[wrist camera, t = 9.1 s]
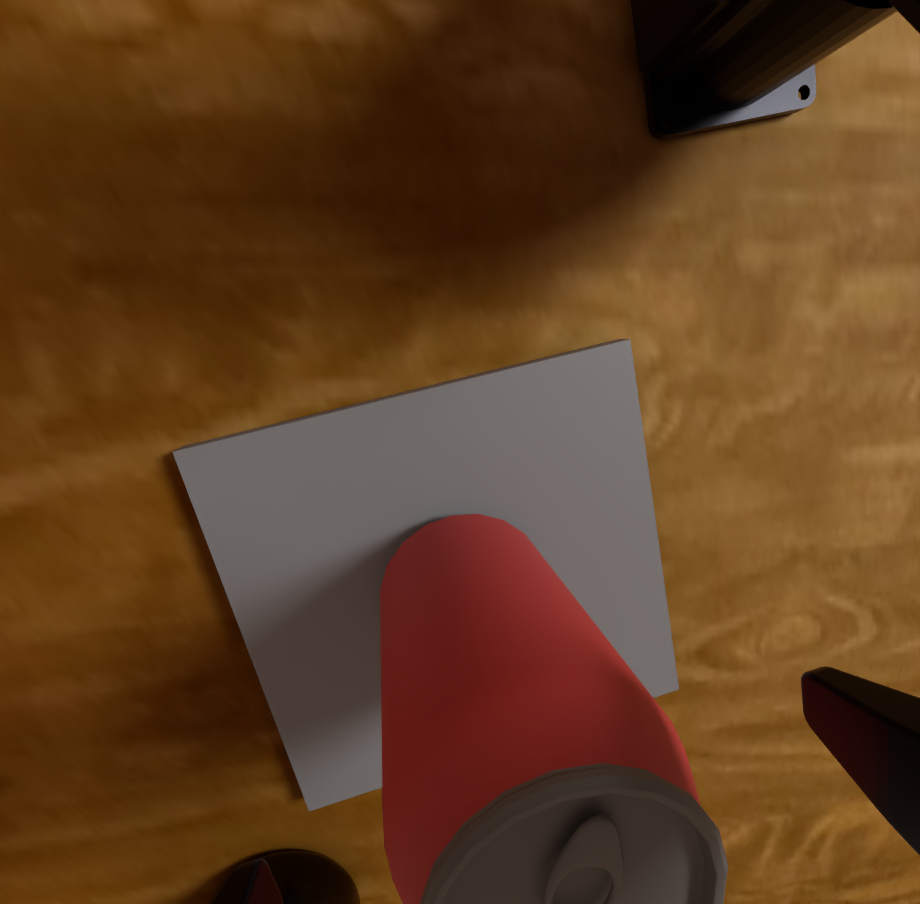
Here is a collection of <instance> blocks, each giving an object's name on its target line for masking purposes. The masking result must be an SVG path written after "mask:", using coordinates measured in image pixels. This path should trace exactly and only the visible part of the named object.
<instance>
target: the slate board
mask: <svg viewBox="0 0 920 904" xmlns="http://www.w3.org/2000/svg"><path fill="white" fill-rule="evenodd" d="M173 455H174V458H175V460H176V463H177V465H178V468H179V471H180V473H181V476H182V479H183V481H184V484H185V486H186V489H187V492H188V494H189V497H190V500H191V502H192V505H193V507H194V510H195V513H196V515H197V518H198V521H199V523H200V526H201V529H202V531H203V534H204V536H205V539H206V542H207V544H208V547H209V550H210V552H211V555H212V557H213V560H214V563H215V565H216V568H217V571H218V573H219V576H220V578H221V581H222V584H223V586H224V589H225V592H226V594H227V597H228V599H229V602H230V605H231V607H232V610H233V613H234V615H235V618H236V620H237V623H238V626H239V628H240V631H241V634H242V636H243V639H244V641H245V644H246V647H247V649H248V652H249V655H250V657H251V660H252V663H253V665H254V668H255V670H256V673H257V676H258V678H259V681H260V684H261V686H262V689H263V691H264V694H265V697H266V699H267V702H268V705H269V707H270V710H271V712H272V715H273V718H274V720H275V723H276V726H277V728H278V731H279V733H280V736H281V739H282V741H283V744H284V747H285V749H286V752H287V754H288V757H289V760H290V762H291V765H292V768H293V770H294V773H295V775H296V778H297V781H298V783H299V786H300V789H301V791H302V794H303V797H304V799H305V802H306V804H307V807H308V810H309V811H312V810H315V809H318V808H321V807H324V806H327V805H330V804H333V803H336V802H339V801H342V800H345V799H348V798H351V797H354V796H357V795H360V794H363V793H366V792H369V791H372V790H375V789H378V788H381V787H382V724H381V628H380V588H381V585H382V581H383V578H384V575H385V571H386V568H387V565H388V563H389V562H390V560H391V559H392V557H393V556H394V555H395V553H396V552H397V550H398V549H399V547H400V546H401V545H402V543H403V542H404V541H405V540H407V539H408V538H409V537H411V536H412V535H413V534H415V533H416V532H417V531H418V530H420V529H421V528H422V527H424V526H425V525H427V524H430V523H433V522H435V521H438V520H440V519H443V518H446V517H448V516H451V515H465V514H482V515H486V516H490V517H494V518H498V519H502V520H505V521H506V522H508V523H509V524H511V525H512V526H514V527H515V528H517V529H519V530H520V531H522V532H523V533H525V534H526V536H527V537H528V538H529V540H530V541H531V542H532V543H533V545H534V546H535V547H536V549H537V550H538V551H539V552H540V554H541V555H542V556H543V558H544V559H545V560H546V561H547V563H548V564H549V565H550V566H551V568H552V569H553V570H554V572H555V573H556V574H557V575H558V577H559V578H560V579H561V581H562V582H563V583H564V584H565V586H566V587H567V588H568V590H569V591H570V592H571V593H572V595H573V596H574V597H575V598H576V600H577V601H578V602H579V604H580V605H581V606H582V607H583V609H584V610H585V611H586V613H587V614H588V615H589V616H590V618H591V619H592V620H593V621H594V623H595V624H596V625H597V627H598V628H599V629H600V630H601V632H602V633H603V634H604V636H605V637H606V638H607V639H608V641H609V642H610V643H611V645H612V646H613V647H614V648H615V650H616V651H617V652H618V653H619V655H620V656H621V657H622V659H623V660H624V661H625V662H626V664H627V665H628V666H629V668H630V669H631V670H632V671H633V673H634V674H635V675H636V677H637V678H638V679H639V680H640V682H641V683H642V684H643V685H644V687H645V688H646V689H647V691H648V692H649V693H650V694H651V696H652V697H653V698H654V697H657V696H660V695H663V694H666V693H669V692H672V691H675V690H678V689H679V685H678V678H677V671H676V664H675V657H674V649H673V642H672V635H671V628H670V621H669V614H668V606H667V599H666V592H665V585H664V578H663V571H662V563H661V556H660V549H659V542H658V535H657V528H656V520H655V513H654V506H653V499H652V492H651V484H650V477H649V470H648V463H647V456H646V449H645V441H644V434H643V427H642V420H641V413H640V406H639V398H638V391H637V384H636V377H635V370H634V363H633V355H632V348H631V341H630V339H618V340H614V341H609V342H605V343H601V344H597V345H593V346H589V347H585V348H581V349H577V350H573V351H569V352H565V353H561V354H557V355H552V356H548V357H544V358H540V359H536V360H532V361H528V362H524V363H520V364H516V365H512V366H508V367H504V368H500V369H495V370H491V371H487V372H483V373H479V374H475V375H471V376H467V377H463V378H459V379H455V380H451V381H447V382H443V383H438V384H434V385H430V386H426V387H422V388H418V389H414V390H410V391H406V392H402V393H398V394H394V395H390V396H386V397H381V398H377V399H373V400H369V401H365V402H361V403H357V404H353V405H349V406H345V407H341V408H337V409H333V410H329V411H324V412H320V413H316V414H312V415H308V416H304V417H300V418H296V419H292V420H288V421H284V422H280V423H276V424H272V425H267V426H263V427H259V428H255V429H251V430H247V431H243V432H239V433H235V434H231V435H227V436H223V437H219V438H215V439H210V440H206V441H202V442H198V443H194V444H190V445H186V446H183V447H181V448H179V449H177V450H175V451H173Z"/></svg>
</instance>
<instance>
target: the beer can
mask: <svg viewBox="0 0 920 904" xmlns="http://www.w3.org/2000/svg"><path fill="white" fill-rule="evenodd" d="M380 628H381V724H382V808H383V826H384V845H385V850H386V854H387V858H388V863H389V867H390V871H391V875H392V879H393V882H394V884H395V886H396V889H397V891H398V893H399V896H400V898H401V900H402V902H403V904H723V901H724V893H725V885H726V878H727V870H728V864H727V860H726V856H725V852H724V848H723V844H722V840H721V836H720V832H719V829H718V828H717V826H716V825H715V824H714V822H713V821H712V820H711V819H710V817H709V816H708V815H707V814H706V812H705V811H704V810H703V809H702V807H701V806H700V802H699V798H698V794H697V791H696V787H695V783H694V780H693V776H692V772H691V769H690V765H689V762H688V758H687V755H686V752H685V749H684V747H683V745H682V743H681V741H680V739H679V736H678V734H677V732H676V730H675V728H674V726H673V723H672V722H671V720H670V719H669V718H668V717H667V715H666V714H665V713H664V711H663V710H662V709H661V707H660V706H659V705H658V704H657V702H656V701H655V700H654V698H653V697H652V696H651V694H650V693H649V692H648V691H647V689H646V688H645V687H644V685H643V684H642V683H641V682H640V680H639V679H638V678H637V677H636V675H635V674H634V673H633V671H632V670H631V669H630V668H629V666H628V665H627V664H626V662H625V661H624V660H623V659H622V657H621V656H620V655H619V653H618V652H617V651H616V650H615V648H614V647H613V646H612V645H611V643H610V642H609V641H608V639H607V638H606V637H605V636H604V634H603V633H602V632H601V630H600V629H599V628H598V627H597V625H596V624H595V623H594V621H593V620H592V619H591V618H590V616H589V615H588V614H587V613H586V611H585V610H584V609H583V607H582V606H581V605H580V604H579V602H578V601H577V600H576V598H575V597H574V596H573V595H572V593H571V592H570V591H569V590H568V588H567V587H566V586H565V584H564V583H563V582H562V581H561V579H560V578H559V577H558V575H557V574H556V573H555V572H554V570H553V569H552V568H551V566H550V565H549V564H548V563H547V561H546V560H545V559H544V558H543V556H542V555H541V554H540V552H539V551H538V550H537V549H536V547H535V546H534V545H533V543H532V542H531V541H530V540H529V538H528V537H527V536H526V534H525V533H523V532H522V531H520V530H519V529H517V528H515V527H514V526H512V525H511V524H509V523H508V522H506V521H505V520H502V519H498V518H494V517H490V516H486V515H482V514H465V515H451V516H448V517H446V518H443V519H440V520H438V521H435V522H433V523H430V524H427V525H425V526H424V527H422V528H421V529H420V530H418V531H417V532H416V533H415V534H413V535H412V536H411V537H409V538H408V539H407V540H405V541H404V542H403V543H402V545H401V546H400V547H399V549H398V550H397V552H396V553H395V555H394V556H393V557H392V559H391V560H390V562H389V563H388V565H387V568H386V571H385V575H384V578H383V581H382V585H381V588H380Z"/></svg>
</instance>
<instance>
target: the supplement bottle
mask: <svg viewBox="0 0 920 904" xmlns="http://www.w3.org/2000/svg"><path fill="white" fill-rule="evenodd" d="M259 858H262V859H264V860H265V861H266V862H267V864H268V866H269V868H270V871H271V873H272V875H273V877H274V880H275V882H276V884H277V886H278V889H279V891H280V893H281V896H282V900H283V904H360V898H359V894H358V890H357V887H356V885H355V883H354V881H353V879H352V878H351V876H350V875H349V874H348V872H347V871H346V870H345V869H344V868H343V867H342V866H340V865H339V864H338V863H336V862H335V861H333V860H332V859H330V858H328V857H325V856H323V855H320V854H317V853H313V852H308V851H296V850H294V851H281V852H275V853H271V854H267V855H264V856H261V857H259ZM256 859H258V858H256ZM254 860H255V859H254ZM224 882H225V881H224ZM224 882H223V883H224ZM223 883H222V884H221V885H220V886H219V888H218V889H217V890H216V892H215V893H214V895H213V897H212V898H211V900H210V902H209V904H210V903H211V901H212V900H213V898H214V897H215V895H216V894H217V892H218V891H219V889H220V888H221V886H222V885H223Z"/></svg>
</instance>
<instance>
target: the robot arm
mask: <svg viewBox="0 0 920 904" xmlns="http://www.w3.org/2000/svg"><path fill="white" fill-rule="evenodd" d="M631 5H632V13H633V22H634V30H635V38H636V47H637V55H638V64H639V70H640V72H641V74H642V75H643V81H644V90H645V98H646V107H647V115H648V124H649V129H650V132H651V134H652V135H653V136H654V137H655V138H657V139H667V138H672V137H677V136H682V135H687V134H692V133H697V132H702V131H707V130H712V129H717V128H721V127H726V126H731V125H736V124H741V123H746V122H751V121H756V120H761V119H766V118H771V117H776V116H781V115H786V114H791V113H796V112H798V111H800V110H802V109H804V108H806V107H808V106H809V105H810V104H811V103H812V102H813V100H814V98H815V95H816V78H815V64H816V63H817V62H819V61H821V60H822V59H824V58H825V57H827V56H828V55H830V54H831V53H833V52H835V51H836V50H838V49H839V48H841V47H842V46H844V45H845V44H847V43H849V42H850V41H852V40H853V39H855V38H856V37H858V36H859V35H861V34H863V33H864V32H866V31H867V30H869V29H870V28H872V27H873V26H875V25H877V24H878V23H880V22H881V21H883V20H884V19H886V18H887V17H889V16H891V15H892V14H894V13H895V12H897V11H898V12H899V13H900V14H901V15H902V16H903V17H904V18H905V19H906V20H907V21H908V22H909V23H910V24H911V25H912V26H913V27H914V28H915V29H916V30H917V31H918V32H919V34H920V0H631ZM798 91H799V92H800V93H801V99H800V98H799V96H798ZM661 117H665V118H666V119H667V122H668V127H664V126H663V125H662V122H661ZM801 688H802V701H803V712H804V716H805V719H806V721H807V723H808V724H809V726H810V727H811V729H812V730H813V731H814V733H815V734H816V735H817V736H818V737H819V739H820V740H821V741H822V742H823V744H824V745H825V746H826V747H827V748H828V750H829V751H830V752H831V753H832V755H833V756H834V757H835V758H836V759H837V761H838V762H839V763H840V764H841V766H842V767H843V768H844V769H845V770H846V772H847V773H848V774H849V775H850V776H851V778H852V779H853V780H854V781H855V783H856V784H857V785H858V786H859V787H860V789H861V790H862V791H863V792H864V794H865V795H866V796H867V797H868V798H869V800H870V801H871V802H872V803H873V804H874V806H875V807H876V808H877V809H878V810H879V812H880V813H881V814H882V815H883V816H884V817H885V819H886V820H887V821H888V822H889V823H890V824H891V825H892V826H893V827H894V829H895V830H896V831H897V832H898V833H899V834H900V835H901V836H902V837H903V838H904V839H905V840H906V841H907V843H908V844H909V845H910V846H911V847H912V848H913V849H914V850H915V851H916V852H917V853H918V854H919V855H920V698H918V697H916V696H913V695H910V694H907V693H904V692H901V691H898V690H895V689H892V688H889V687H886V686H884V685H881V684H878V683H875V682H872V681H869V680H866V679H863V678H860V677H857V676H855V675H852V674H849V673H846V672H843V671H840V670H837V669H834V668H831V667H820V668H817V669H814V670H811V671H808V672H805V673H804V674H803V675H802V677H801ZM210 904H283V900H282V896H281V893H280V891H279V889H278V886H277V884H276V882H275V880H274V877H273V875H272V873H271V871H270V868H269V866H268V864H267V862H266V861H265V860H264V859H262V858H258V859H255V860H252V861H249V862H246V863H243V864H240V865H238V866H236V867H235V868H234V869H233V870H232V871H231V873H230V874H229V875H228V877H227V878H226V880H225V882H224V883H223V885H222V886H221V888H220V889H219V891H218V892H217V894H216V895H215V897H214V898H213V900H212V901H211V903H210Z"/></svg>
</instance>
